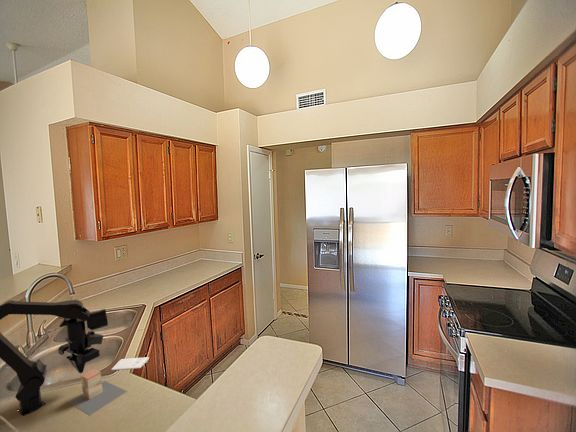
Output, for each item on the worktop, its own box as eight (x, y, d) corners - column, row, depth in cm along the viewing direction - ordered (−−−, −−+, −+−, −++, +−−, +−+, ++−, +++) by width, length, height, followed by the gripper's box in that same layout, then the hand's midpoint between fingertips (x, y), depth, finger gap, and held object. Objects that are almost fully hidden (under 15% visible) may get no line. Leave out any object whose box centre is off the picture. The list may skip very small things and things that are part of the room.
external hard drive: (121, 362, 129) (149, 359, 130) (111, 373, 121) (140, 370, 121) (121, 358, 129) (148, 356, 129) (110, 369, 121) (140, 366, 121)
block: (83, 396, 105) (80, 375, 105) (96, 388, 109) (94, 368, 109) (89, 399, 103) (87, 378, 103) (102, 391, 107) (100, 371, 107)
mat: (67, 403, 102) (67, 402, 102) (105, 382, 114) (105, 381, 114) (89, 416, 95) (89, 415, 95) (127, 392, 107) (127, 391, 106)
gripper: (112, 328, 111) (116, 366, 112) (86, 321, 120) (90, 356, 121) (80, 342, 101) (85, 383, 102) (55, 333, 110) (60, 371, 111)
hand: (81, 372), depth 109 cm, fingers closed
